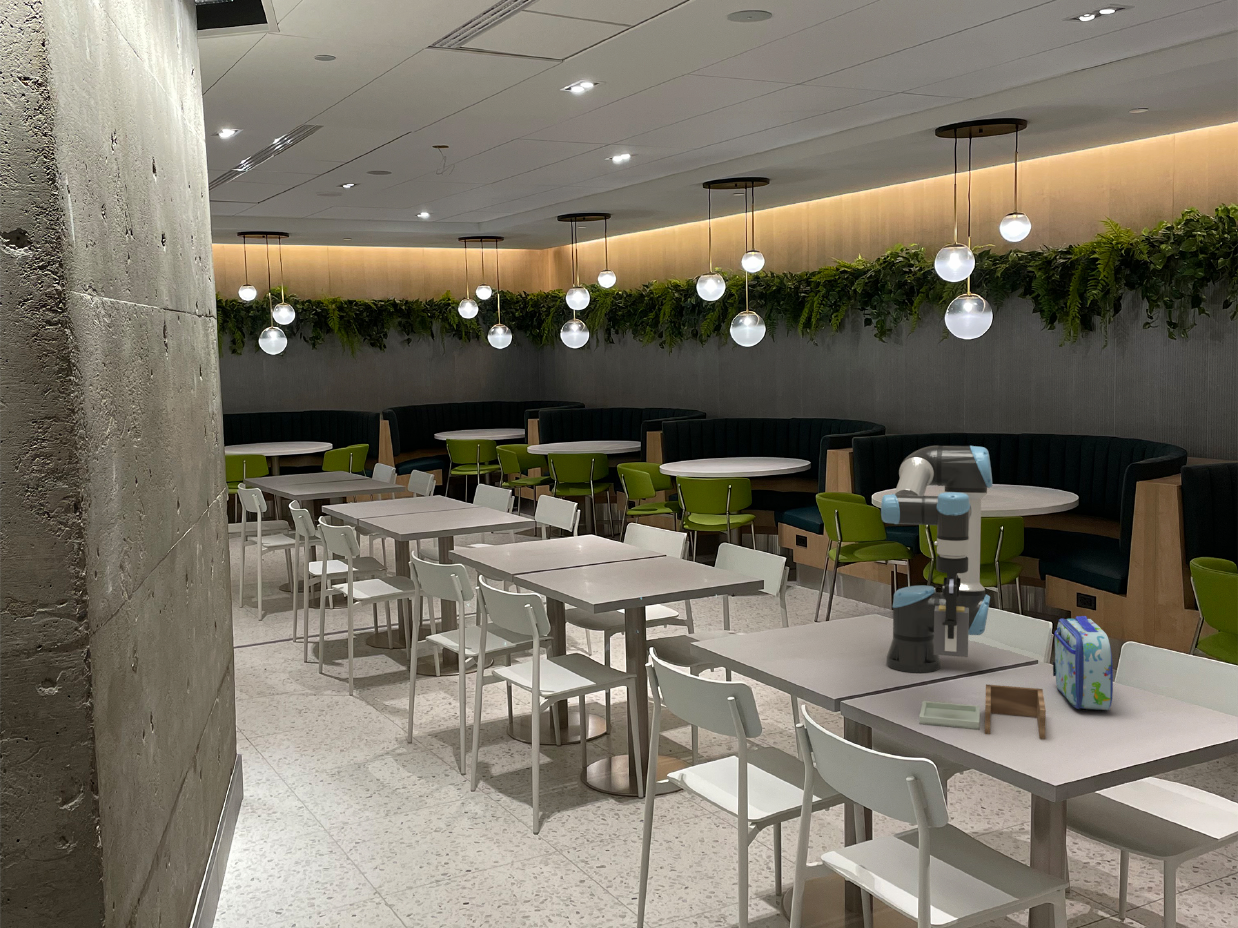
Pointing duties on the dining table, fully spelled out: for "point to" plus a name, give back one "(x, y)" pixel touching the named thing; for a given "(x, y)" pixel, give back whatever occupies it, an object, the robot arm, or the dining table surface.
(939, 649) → the grey box yellow panel
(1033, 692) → the bay
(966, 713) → the tray
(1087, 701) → the lunch box
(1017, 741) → the dining table surface
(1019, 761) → the dining table surface
